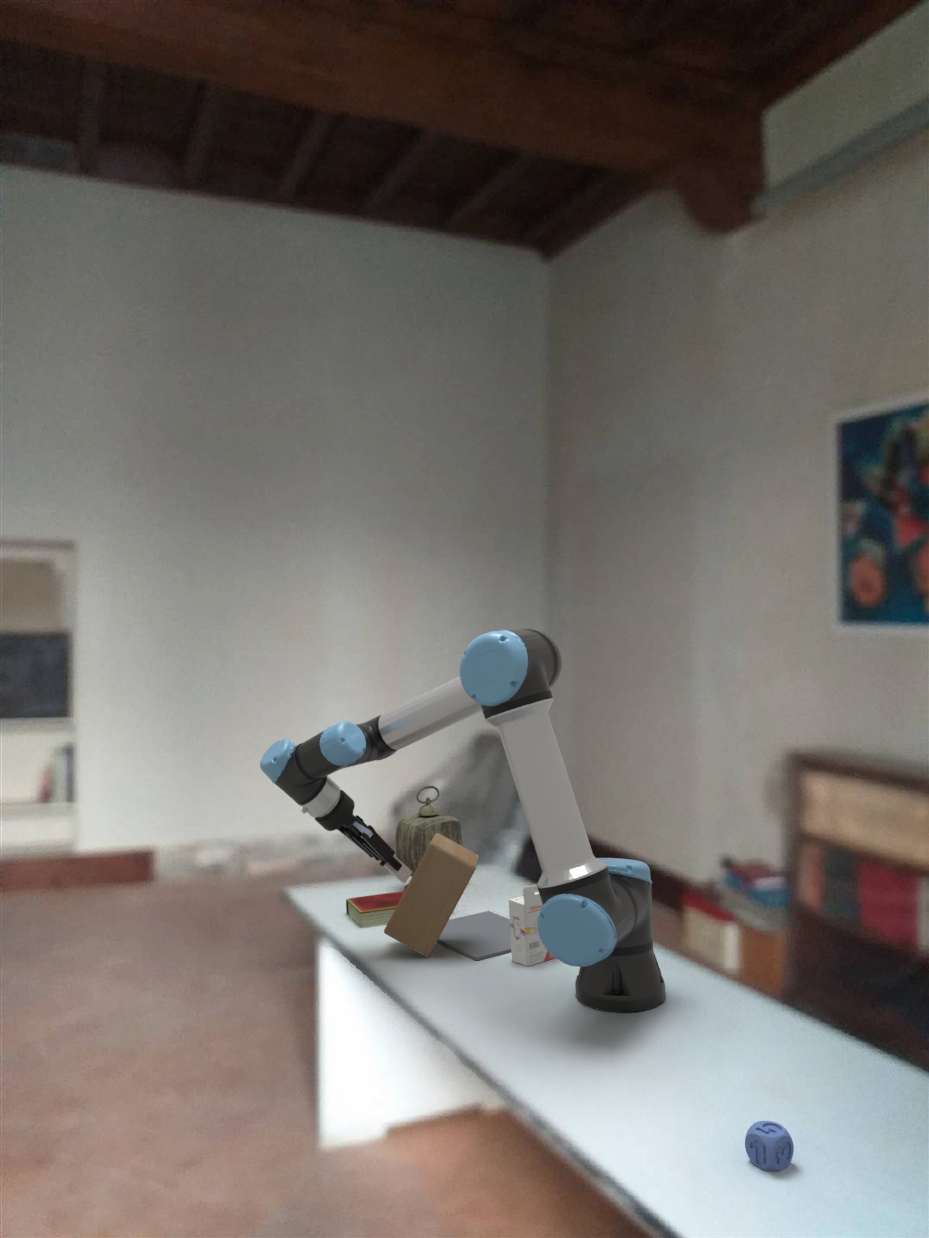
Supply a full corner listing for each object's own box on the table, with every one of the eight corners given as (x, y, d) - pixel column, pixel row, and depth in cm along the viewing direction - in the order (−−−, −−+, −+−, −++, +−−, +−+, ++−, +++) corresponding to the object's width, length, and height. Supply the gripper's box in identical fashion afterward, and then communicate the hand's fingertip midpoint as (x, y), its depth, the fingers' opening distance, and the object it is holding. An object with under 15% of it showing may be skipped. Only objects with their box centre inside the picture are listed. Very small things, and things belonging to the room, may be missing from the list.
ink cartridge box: (544, 950, 197) (541, 874, 197) (561, 956, 193) (558, 879, 193) (509, 960, 192) (507, 882, 192) (526, 967, 188) (523, 887, 188)
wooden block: (434, 941, 205) (480, 855, 204) (427, 958, 195) (476, 867, 194) (390, 917, 206) (436, 831, 205) (382, 933, 196) (430, 842, 195)
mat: (555, 940, 203) (555, 937, 203) (476, 960, 193) (476, 957, 193) (488, 913, 223) (488, 910, 223) (413, 930, 213) (413, 927, 213)
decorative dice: (744, 1160, 120) (743, 1126, 120) (767, 1150, 122) (766, 1116, 122) (771, 1175, 117) (770, 1140, 117) (795, 1164, 119) (793, 1130, 119)
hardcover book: (346, 915, 227) (345, 896, 227) (434, 903, 235) (434, 884, 235) (361, 930, 216) (360, 910, 216) (453, 916, 224) (452, 897, 224)
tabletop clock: (443, 880, 253) (440, 780, 253) (467, 887, 246) (463, 783, 246) (396, 892, 243) (393, 788, 243) (419, 899, 236) (416, 792, 236)
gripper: (300, 814, 197) (379, 886, 206) (330, 824, 186) (412, 899, 195) (324, 784, 200) (401, 855, 209) (355, 791, 189) (434, 867, 198)
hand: (406, 876), depth 202 cm, fingers closed
